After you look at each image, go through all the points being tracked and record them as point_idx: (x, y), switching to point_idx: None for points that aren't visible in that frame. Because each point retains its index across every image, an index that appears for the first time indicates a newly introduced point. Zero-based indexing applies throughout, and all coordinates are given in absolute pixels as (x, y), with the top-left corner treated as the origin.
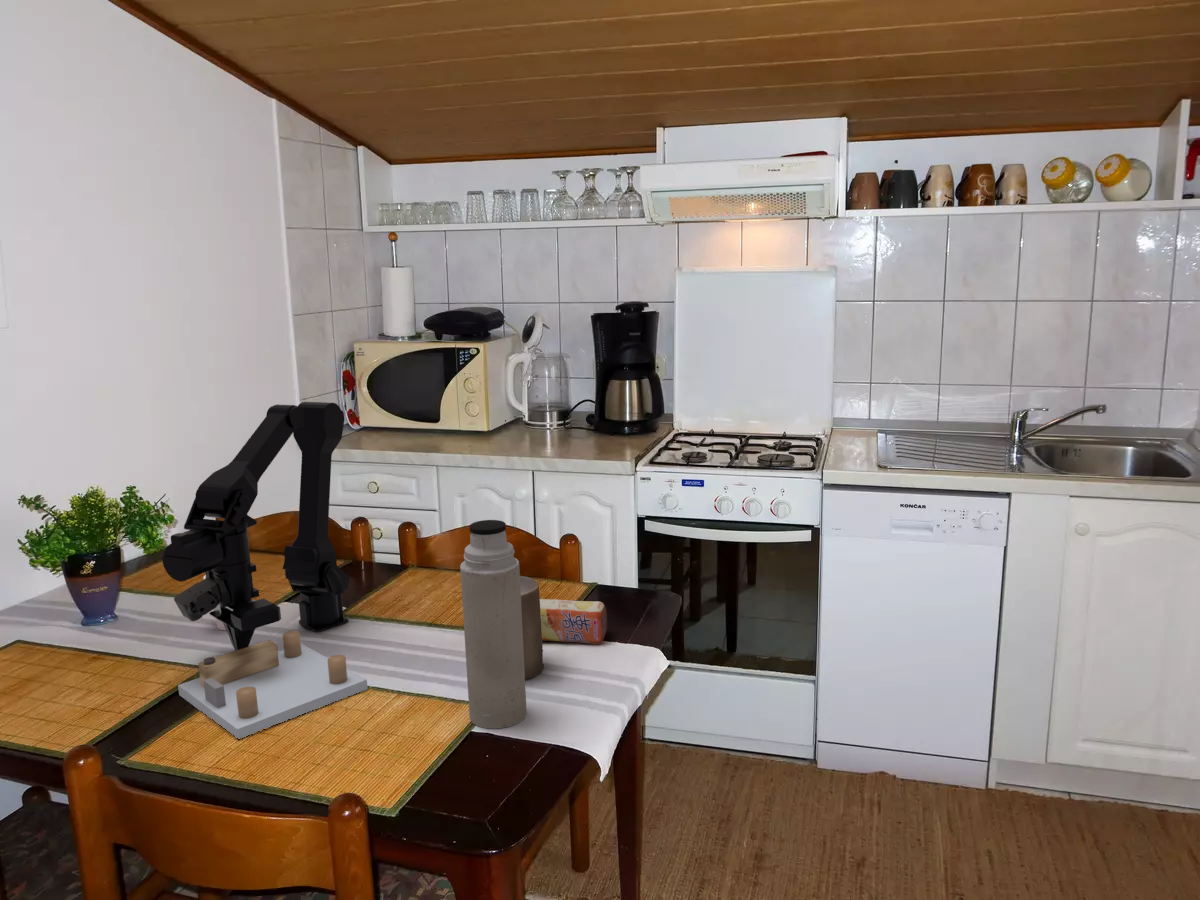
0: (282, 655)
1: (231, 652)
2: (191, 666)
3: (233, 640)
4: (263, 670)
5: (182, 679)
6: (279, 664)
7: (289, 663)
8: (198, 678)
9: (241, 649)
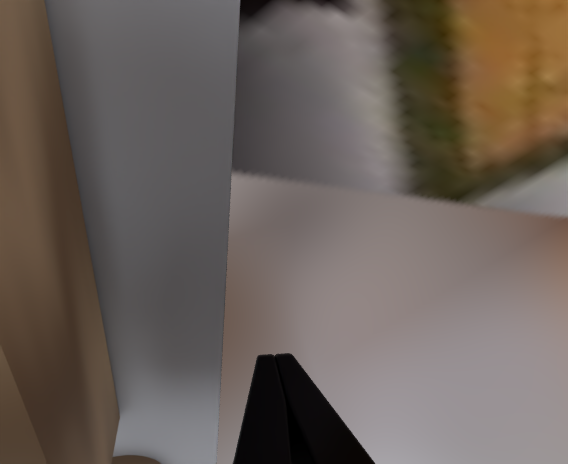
0: (154, 451)
1: (16, 390)
2: (554, 146)
3: (309, 451)
4: None
5: (476, 6)
6: None
7: None
8: (236, 8)
9: (35, 456)
